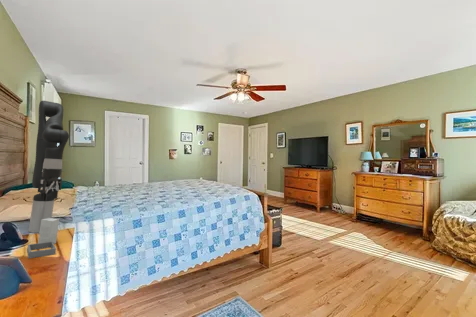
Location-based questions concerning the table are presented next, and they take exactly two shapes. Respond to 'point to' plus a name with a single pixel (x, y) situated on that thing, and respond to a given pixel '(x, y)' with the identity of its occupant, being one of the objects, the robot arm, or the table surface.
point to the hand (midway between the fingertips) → (49, 199)
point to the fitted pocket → (41, 252)
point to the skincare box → (48, 230)
